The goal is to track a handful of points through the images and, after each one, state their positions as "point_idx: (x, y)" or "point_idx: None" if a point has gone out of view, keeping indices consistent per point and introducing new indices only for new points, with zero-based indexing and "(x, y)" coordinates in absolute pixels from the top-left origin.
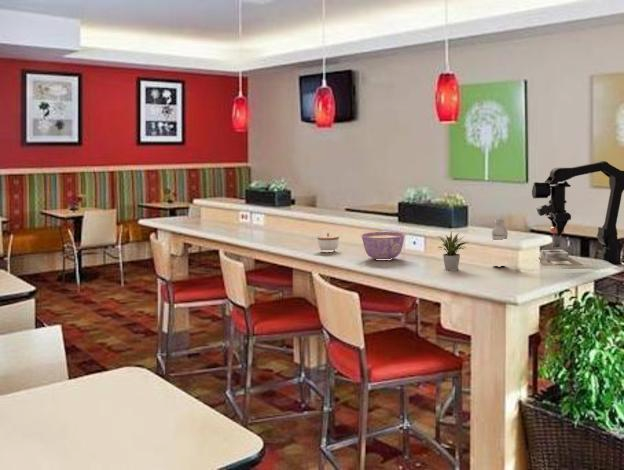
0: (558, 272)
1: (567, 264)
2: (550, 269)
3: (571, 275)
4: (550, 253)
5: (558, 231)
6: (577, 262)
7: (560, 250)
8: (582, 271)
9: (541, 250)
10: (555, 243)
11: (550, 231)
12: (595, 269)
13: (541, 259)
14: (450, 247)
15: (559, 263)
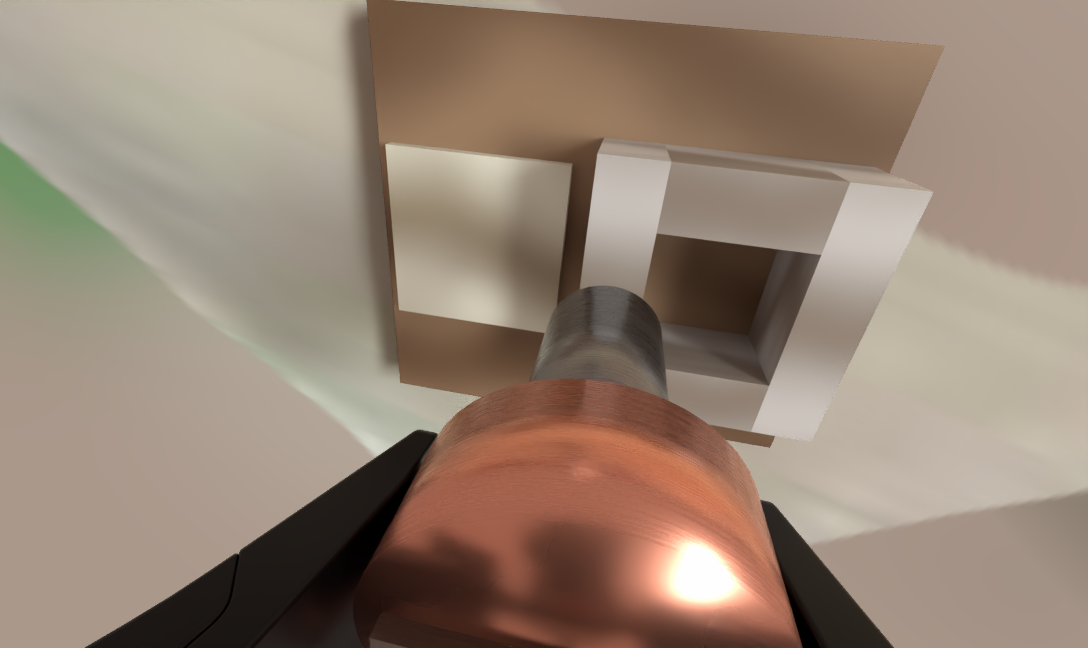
0: (219, 96)
1: (399, 270)
2: (363, 74)
3: (112, 157)
4: (591, 204)
5: (342, 496)
6: (500, 388)
7: (767, 404)
8: (290, 307)
9: (919, 189)
10: (554, 325)
11: (615, 407)
12: (369, 414)
13: (766, 127)
14: None
15: (400, 202)
